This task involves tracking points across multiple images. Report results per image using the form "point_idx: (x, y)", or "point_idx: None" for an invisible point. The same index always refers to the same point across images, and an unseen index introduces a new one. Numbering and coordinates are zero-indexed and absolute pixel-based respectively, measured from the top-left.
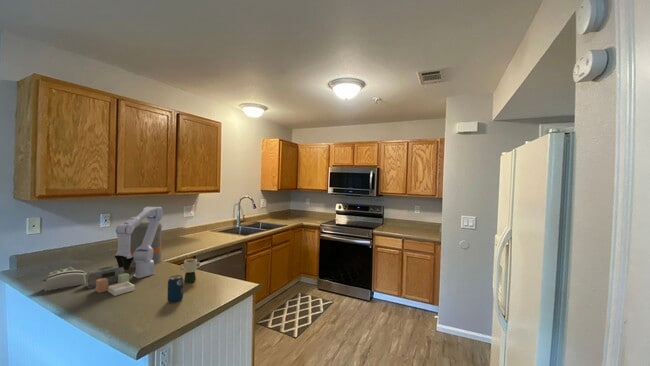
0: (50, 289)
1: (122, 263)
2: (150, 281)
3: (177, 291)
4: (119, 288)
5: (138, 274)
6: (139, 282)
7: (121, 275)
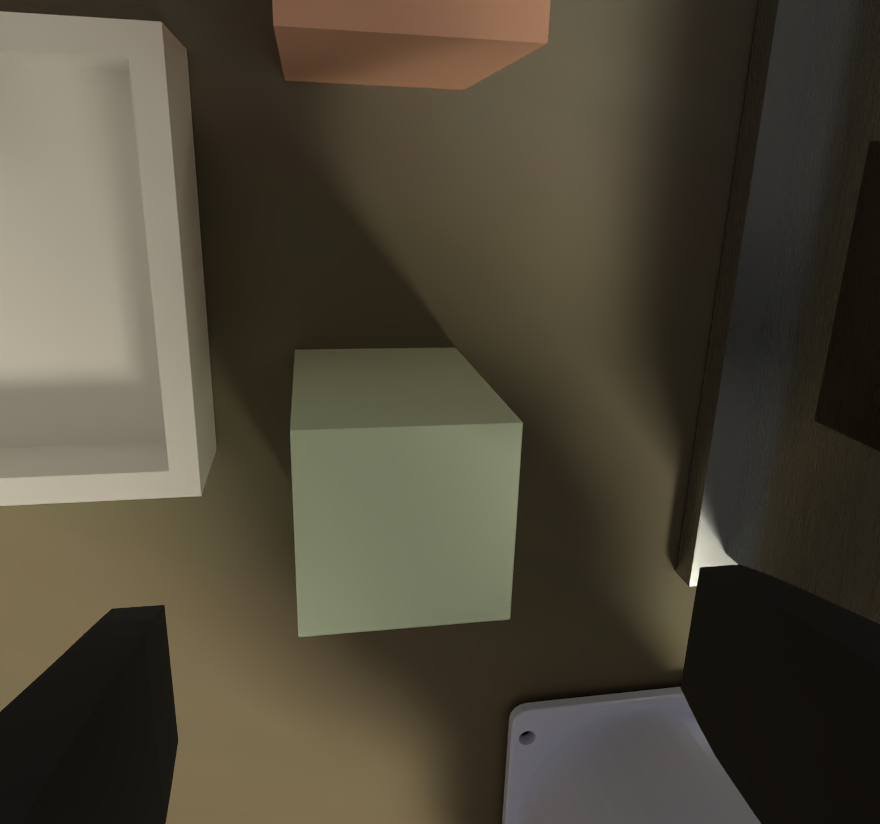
0: None
1: (781, 778)
2: None
3: None
4: (57, 255)
5: (593, 764)
6: (275, 662)
7: (377, 466)
